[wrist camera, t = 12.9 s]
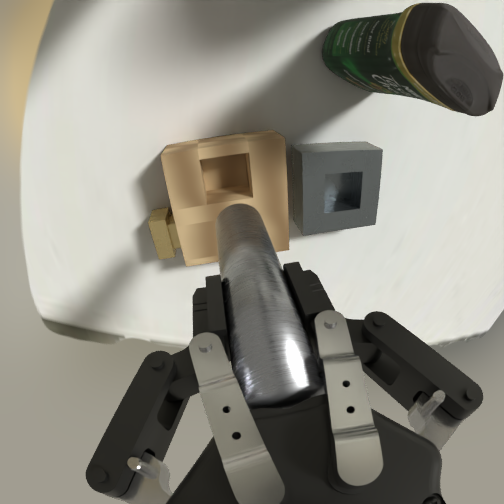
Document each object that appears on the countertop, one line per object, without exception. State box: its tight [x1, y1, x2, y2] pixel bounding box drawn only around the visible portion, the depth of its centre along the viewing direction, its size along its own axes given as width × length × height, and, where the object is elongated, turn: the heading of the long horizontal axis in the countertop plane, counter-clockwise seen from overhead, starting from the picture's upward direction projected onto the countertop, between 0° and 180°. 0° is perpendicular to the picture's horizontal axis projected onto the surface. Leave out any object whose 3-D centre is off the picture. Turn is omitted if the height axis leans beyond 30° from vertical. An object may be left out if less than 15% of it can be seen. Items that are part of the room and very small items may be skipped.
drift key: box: [148, 207, 181, 260], centre depth 34 cm, size 5×8×3 cm, turn 96°
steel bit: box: [215, 203, 325, 410], centre depth 14 cm, size 3×3×13 cm
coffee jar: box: [322, 3, 503, 116], centre depth 18 cm, size 10×8×19 cm
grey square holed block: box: [291, 142, 383, 236], centre depth 33 cm, size 10×10×4 cm
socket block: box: [161, 130, 289, 267], centre depth 31 cm, size 12×13×5 cm
